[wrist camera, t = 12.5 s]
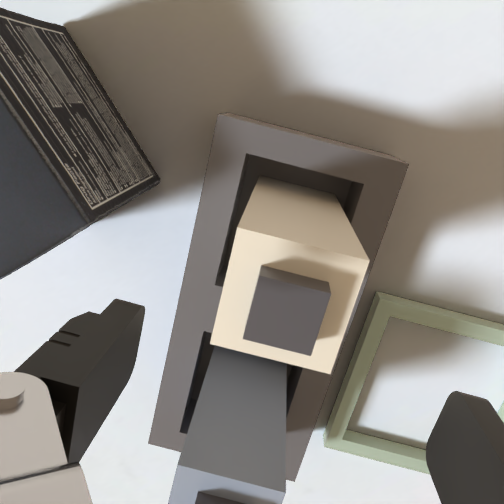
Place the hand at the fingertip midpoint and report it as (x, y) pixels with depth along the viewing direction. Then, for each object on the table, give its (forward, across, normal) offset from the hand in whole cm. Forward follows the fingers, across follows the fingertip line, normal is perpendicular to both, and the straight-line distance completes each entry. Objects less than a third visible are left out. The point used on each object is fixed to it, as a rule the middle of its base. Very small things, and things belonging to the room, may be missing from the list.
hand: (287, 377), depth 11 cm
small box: (+18, +14, -2) cm, 23 cm away
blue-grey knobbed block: (+17, 0, +10) cm, 20 cm away
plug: (+17, 0, 0) cm, 17 cm away
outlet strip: (+18, 0, +5) cm, 18 cm away
